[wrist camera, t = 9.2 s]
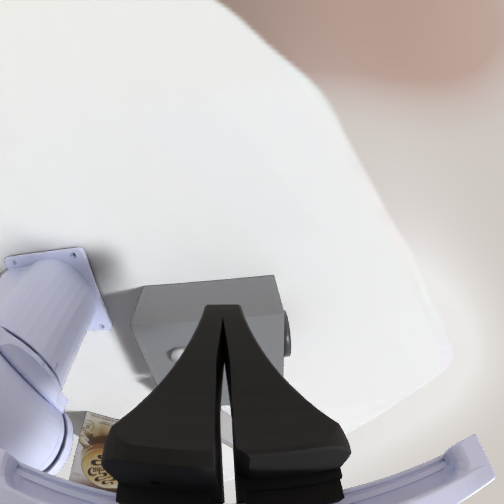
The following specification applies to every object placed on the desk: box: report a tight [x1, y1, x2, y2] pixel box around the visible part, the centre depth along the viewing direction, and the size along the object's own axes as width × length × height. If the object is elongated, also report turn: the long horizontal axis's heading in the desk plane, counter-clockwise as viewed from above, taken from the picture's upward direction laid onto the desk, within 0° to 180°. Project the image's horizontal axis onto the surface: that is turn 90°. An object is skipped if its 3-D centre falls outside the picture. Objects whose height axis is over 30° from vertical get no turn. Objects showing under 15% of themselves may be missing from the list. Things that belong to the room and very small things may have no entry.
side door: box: [220, 410, 233, 448], centre depth 28 cm, size 16×1×4 cm, turn 30°
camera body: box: [130, 275, 291, 406], centre depth 22 cm, size 11×10×5 cm
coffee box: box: [69, 412, 119, 493], centre depth 25 cm, size 9×6×16 cm
